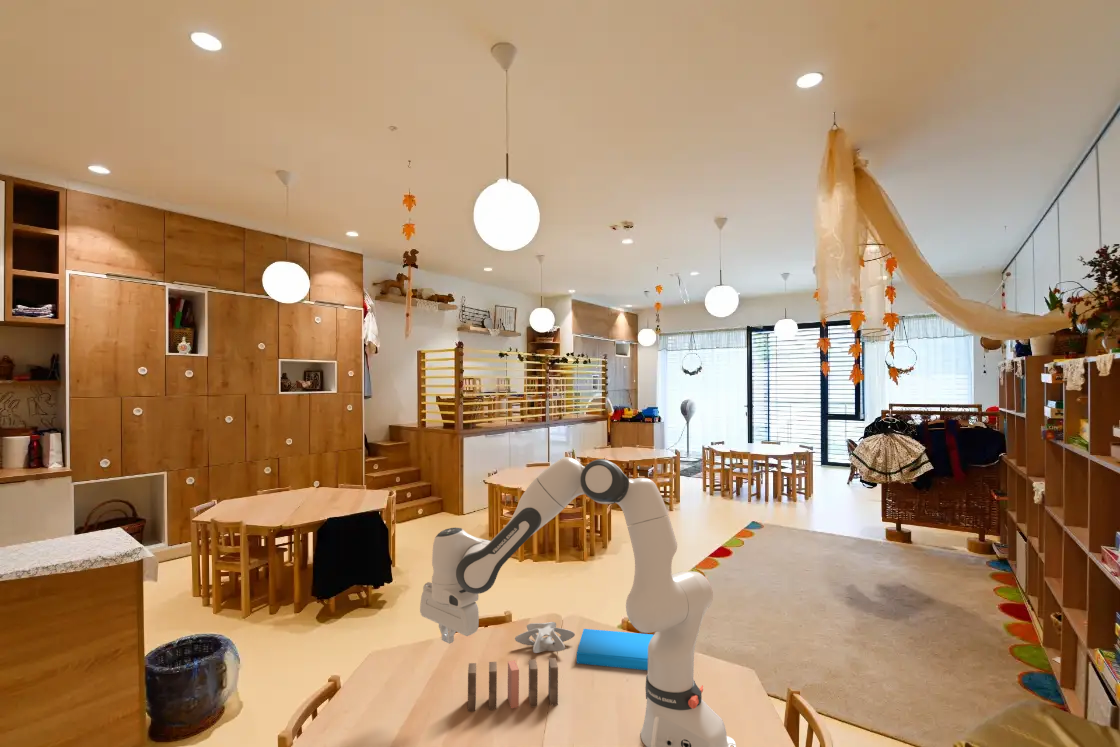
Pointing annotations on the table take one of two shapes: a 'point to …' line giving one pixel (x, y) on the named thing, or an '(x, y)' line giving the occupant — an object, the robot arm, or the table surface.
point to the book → (614, 649)
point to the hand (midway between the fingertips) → (447, 641)
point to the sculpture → (546, 642)
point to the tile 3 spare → (513, 684)
